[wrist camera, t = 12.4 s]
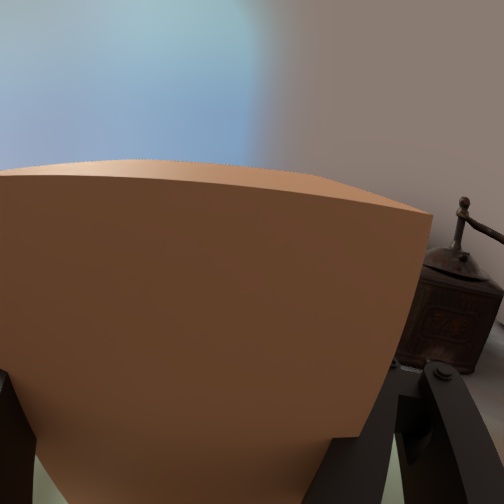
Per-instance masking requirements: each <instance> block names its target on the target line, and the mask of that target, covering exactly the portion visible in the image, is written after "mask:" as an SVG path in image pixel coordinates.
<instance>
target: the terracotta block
mask: <svg viewBox="0 0 504 504" xmlns="http://www.w3.org/2000/svg"><path fill="white" fill-rule="evenodd" d="M432 219H433V215H432V214H429V213H426V212H424V211H421V210H419V209H416V208H413V207H411V206H408V205H405V204H402V203H399V202H397V201H394V200H391V199H388V198H385V197H382V196H379V195H377V194H374V193H370V192H368V191H364V190H361V189H358V188H355V187H352V186H349V185H346V184H343V183H339V182H336V181H333V180H329V179H326V178H323V177H319V176H316V175H309V174H302V173H295V172H287V171H279V170H271V169H263V168H254V167H244V166H233V165H222V164H212V163H199V162H184V161H167V160H145V159H144V160H143V159H133V160H132V159H131V160H109V161H91V162H77V163H65V164H53V165H44V166H34V167H26V168H18V169H11V170H3V171H0V369H2V370H4V371H7V372H8V375H9V377H10V380H11V383H12V385H13V388H14V390H15V393H16V395H17V398H18V400H19V402H20V405H21V407H22V409H23V411H24V414H25V416H26V418H27V420H28V422H29V424H30V426H31V428H32V430H33V432H34V434H35V436H36V438H37V443H36V452H35V454H36V456H37V457H38V459H39V461H40V462H41V464H42V466H43V467H44V469H45V470H46V472H47V474H48V475H49V477H50V478H51V480H52V481H53V483H54V484H55V486H56V487H57V488H58V490H59V491H60V493H61V494H62V496H63V497H64V498H65V500H66V501H67V502H68V504H301V502H302V500H303V498H304V496H305V494H306V492H307V490H308V488H309V486H310V484H311V482H312V480H313V478H314V476H315V474H316V472H317V470H318V468H319V466H320V464H321V462H322V460H323V458H324V456H325V454H326V452H327V449H328V447H329V445H330V443H331V441H332V438H341V437H359V435H360V433H361V431H362V429H363V427H364V424H365V422H366V420H367V418H368V416H369V414H370V412H371V410H372V407H373V405H374V403H375V401H376V399H377V396H378V394H379V392H380V389H381V387H382V385H383V382H384V380H385V377H386V375H387V372H388V370H389V367H390V365H391V362H392V360H393V357H394V354H395V352H396V349H397V346H398V343H399V341H400V338H401V335H402V332H403V329H404V326H405V323H406V320H407V317H408V314H409V311H410V307H411V304H412V301H413V297H414V294H415V290H416V287H417V283H418V280H419V276H420V272H421V268H422V264H423V260H424V256H425V252H426V248H427V243H428V239H429V234H430V229H431V223H432Z"/></svg>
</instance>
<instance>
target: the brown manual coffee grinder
mask: <svg viewBox="0 0 504 504" xmlns="http://www.w3.org/2000/svg"><path fill="white" fill-rule="evenodd" d="M469 205H470V201H469V199H468V198H467V197H462V198H461V199H460V200H459V206H460V208H459V209H458V210H457V212H456V215H457V216H458V220H457V226H456V231H455V236H454V239H453V242H452V243H451V244H450V245H449V246H440V247H437V248H432V249H429V250H428V251H426V252H425V256H424V260H423V264H422V268H421V272H420V276H419V280H418V283H417V287H416V290H415V294H414V297H413V301H412V304H411V307H410V311H409V314H408V317H407V320H406V323H405V326H404V329H403V332H402V335H401V338H400V341H399V343H398V346H397V349H396V352H395V354H394V357H395V358H396V359H397V360H398V361H399V363H400V364H405V365H409V366H413V367H418V368H422V369H424V367H425V366H426V364H428V363H430V362H441V363H446V364H449V365H451V366H452V367H453V368H454V369H456V370H457V371H458V373H473V372H474V370H475V366H476V363H477V361H478V359H479V357H480V354H481V352H482V349H483V347H484V345H485V343H486V340H487V338H488V336H489V333H490V331H491V328H492V326H493V323H494V321H495V318H496V315H497V313H498V310H499V307H500V304H501V301H502V299H503V296H504V290H503V289H502V288H501V287H500V286H499V285H498V284H497V283H496V282H495V281H494V280H493V279H492V278H491V277H490V276H489V275H487V273H485V272H484V271H483V270H482V269H481V268H479V266H478V264H477V262H476V261H475V260H474V258H473V257H472V256H471V255H470V253H467V252H465V251H463V250H462V249H461V240H462V235H463V230H464V226H465V221H467V222H468V223H469V224H470V225H471V226H472V227H473V228H474V229H476V230H478V231H479V232H482V233H484V234H486V235H488V236H489V237H491V238H493V239H495V240H497V241H499V242H500V243H502V244H504V236H503V235H502V234H500V233H498V232H496V231H494V230H493V229H491V228H489V227H487V226H484V225H483V224H480V223H478V222H476V221H475V220H474V219H472V218H471V217H469V212H468V211H467V210H468V208H469Z"/></svg>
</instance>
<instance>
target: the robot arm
mask: <svg viewBox="0 0 504 504" xmlns="http://www.w3.org/2000/svg"><path fill="white" fill-rule="evenodd" d="M400 368H401V367H400V363H399V361H398V360H397V359H396V358H395V357H393V360H392V362H391V365H390V367H389V370H388V372H387V375H386V377H385V380H384V382H383V385H382V387H381V389H380V392H379V394H378V396H377V399H376V401H375V403H374V405H373V407H372V410H371V412H370V414H369V416H368V418H367V420H366V422H365V424H364V427H363V429H362V431H361V433H360V435H359V437H341V438H332V441H331V443H330V445H329V447H328V449H327V452H326V454H325V456H324V458H323V460H322V462H321V464H320V466H319V468H318V470H317V472H316V474H315V476H314V478H313V480H312V482H311V484H310V486H309V488H308V490H307V492H306V494H305V496H304V498H303V500H302V502H301V504H381V501H382V497H383V493H384V488H385V483H386V478H387V473H388V468H389V463H390V457H391V451H392V444H393V438H394V435H395V441H396V447H397V453H398V459H399V466H400V473H401V480H402V488H403V496H404V504H504V468H503V465H502V463H501V460H500V458H499V455H498V453H497V450H496V448H495V446H494V443H493V441H492V439H491V436H490V434H489V432H488V430H487V428H486V425H485V423H484V421H483V419H482V417H481V415H480V413H479V411H478V409H477V407H476V405H475V402H474V400H473V399H472V397H471V395H470V393H469V391H468V389H467V387H466V385H465V383H464V381H463V379H462V377H461V375H460V374H459V373H458V371H457V370H456V369H454V368H453V367H452V366H451V365H449V364H446V363H441V362H430V363H428V364H426V366H425V367H424V369H423V372H422V374H420V373H415V372H410V371H405V370H401V369H400ZM36 443H37V438H36V436H35V434H34V432H33V430H32V428H31V426H30V424H29V422H28V420H27V418H26V416H25V414H24V411H23V409H22V407H21V405H20V402H19V400H18V398H17V395H16V393H15V390H14V388H13V385H12V383H11V380H10V377H9V375H8V372H7V371H4V370H2V369H0V504H33V478H34V463H35V452H36Z"/></svg>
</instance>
